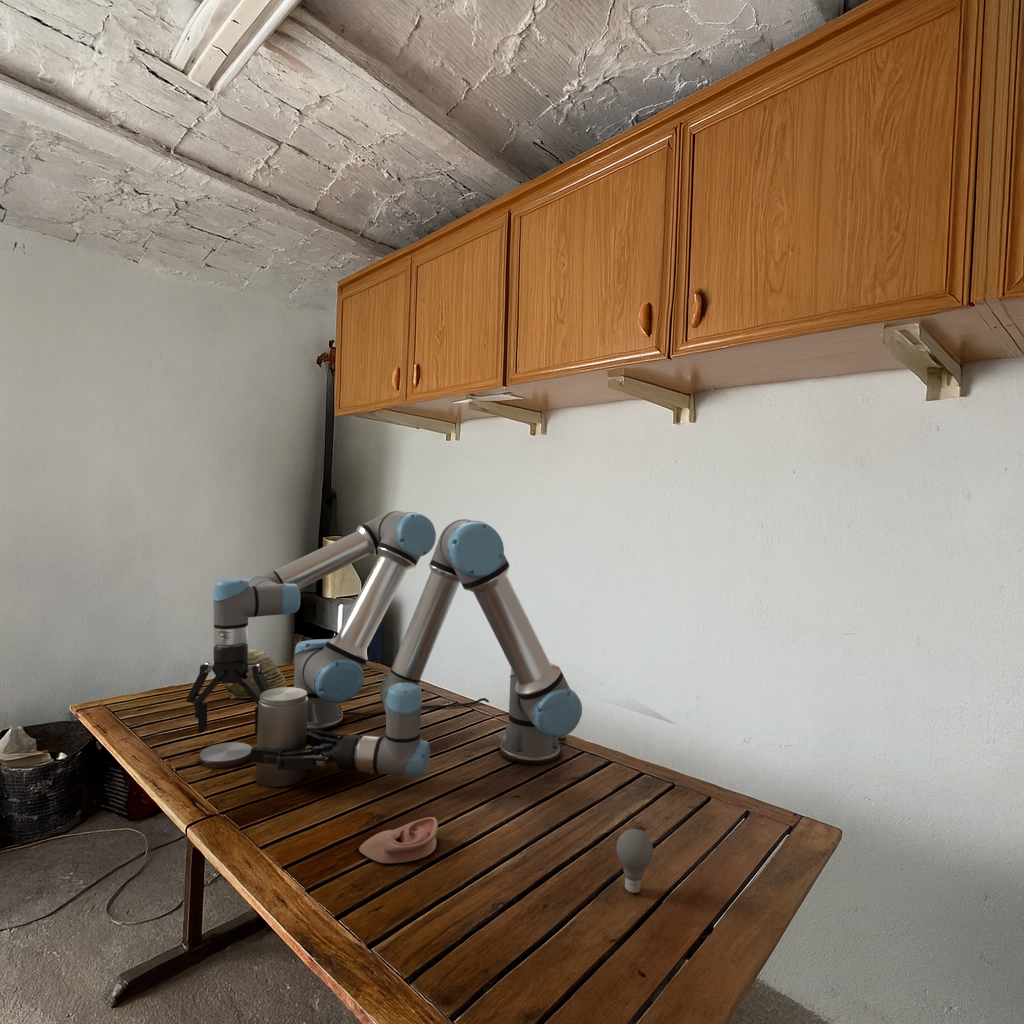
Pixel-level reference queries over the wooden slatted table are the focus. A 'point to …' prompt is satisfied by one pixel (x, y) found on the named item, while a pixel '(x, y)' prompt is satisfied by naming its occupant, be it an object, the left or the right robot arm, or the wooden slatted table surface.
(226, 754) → the lid
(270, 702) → the jar
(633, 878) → the light bulb
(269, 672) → the fossil
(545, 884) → the wooden slatted table surface
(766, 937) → the wooden slatted table surface
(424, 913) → the wooden slatted table surface
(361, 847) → the anatomical model
